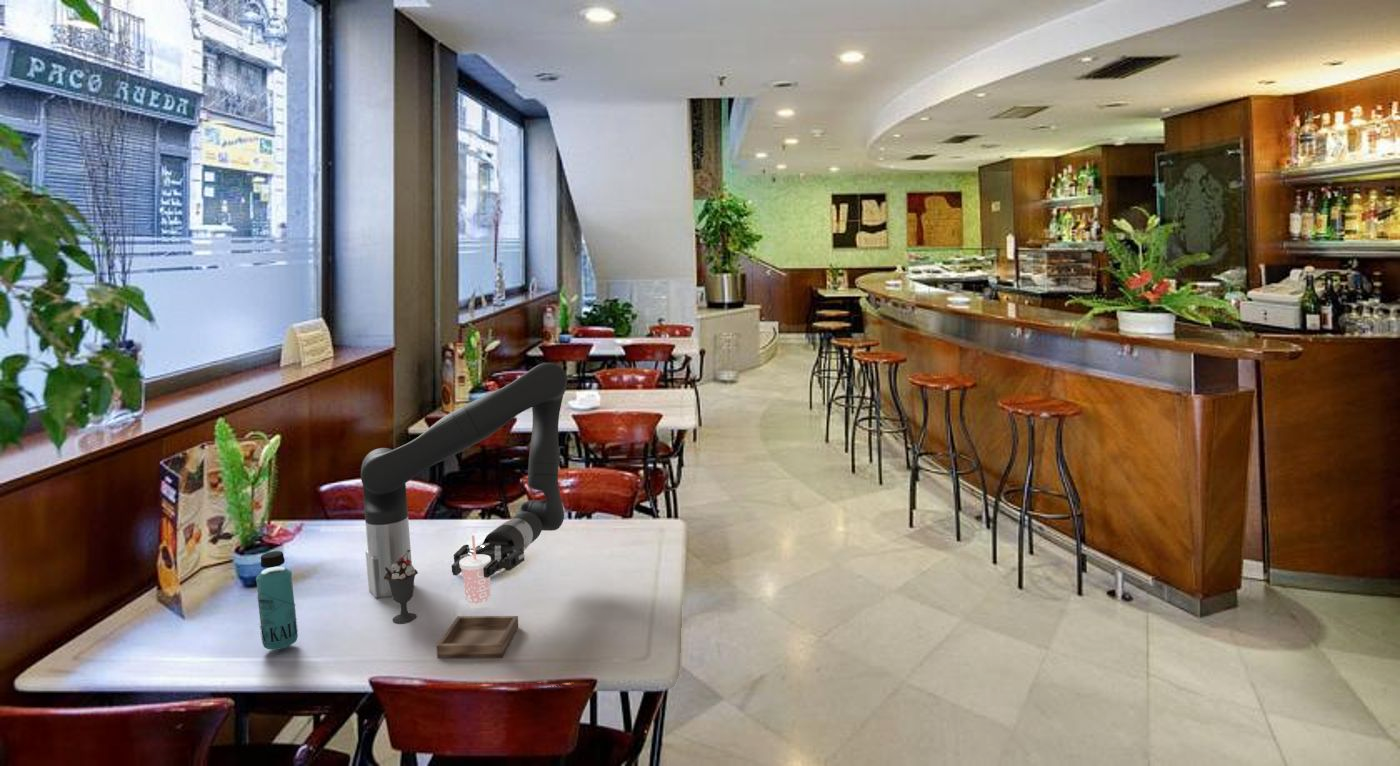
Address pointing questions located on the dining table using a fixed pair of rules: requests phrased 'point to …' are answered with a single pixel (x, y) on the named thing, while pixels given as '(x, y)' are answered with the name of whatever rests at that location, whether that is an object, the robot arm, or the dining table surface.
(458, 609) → the dining table surface
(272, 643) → the beverage bottle
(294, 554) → the dining table surface
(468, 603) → the beverage cup
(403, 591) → the sundae
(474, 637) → the walnut tray
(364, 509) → the robot arm
